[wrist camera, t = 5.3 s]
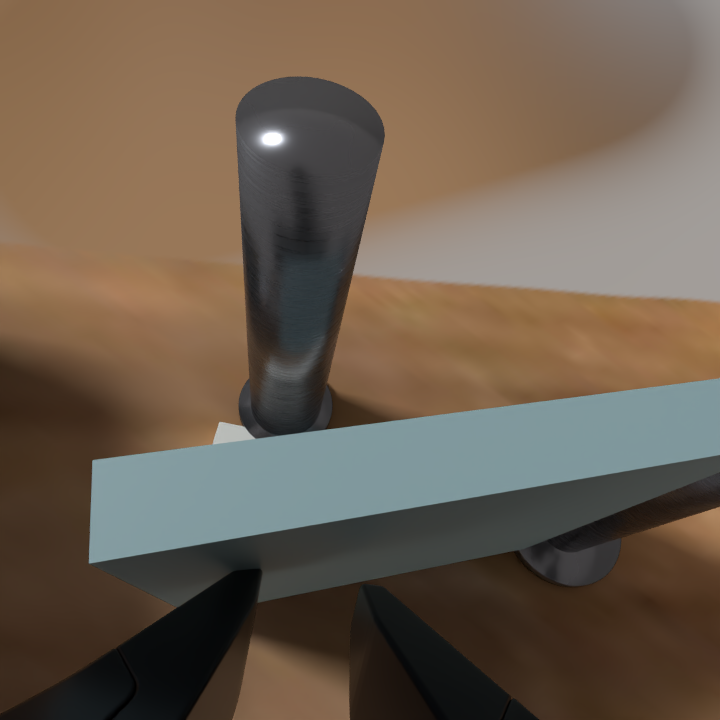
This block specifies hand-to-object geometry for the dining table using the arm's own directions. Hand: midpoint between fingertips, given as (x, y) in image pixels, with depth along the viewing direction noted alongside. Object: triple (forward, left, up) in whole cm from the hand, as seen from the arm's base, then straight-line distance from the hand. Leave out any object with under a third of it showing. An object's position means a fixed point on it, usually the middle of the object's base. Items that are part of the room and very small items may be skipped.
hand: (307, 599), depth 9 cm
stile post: (+5, -4, -7) cm, 10 cm away
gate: (0, -3, -7) cm, 7 cm away
